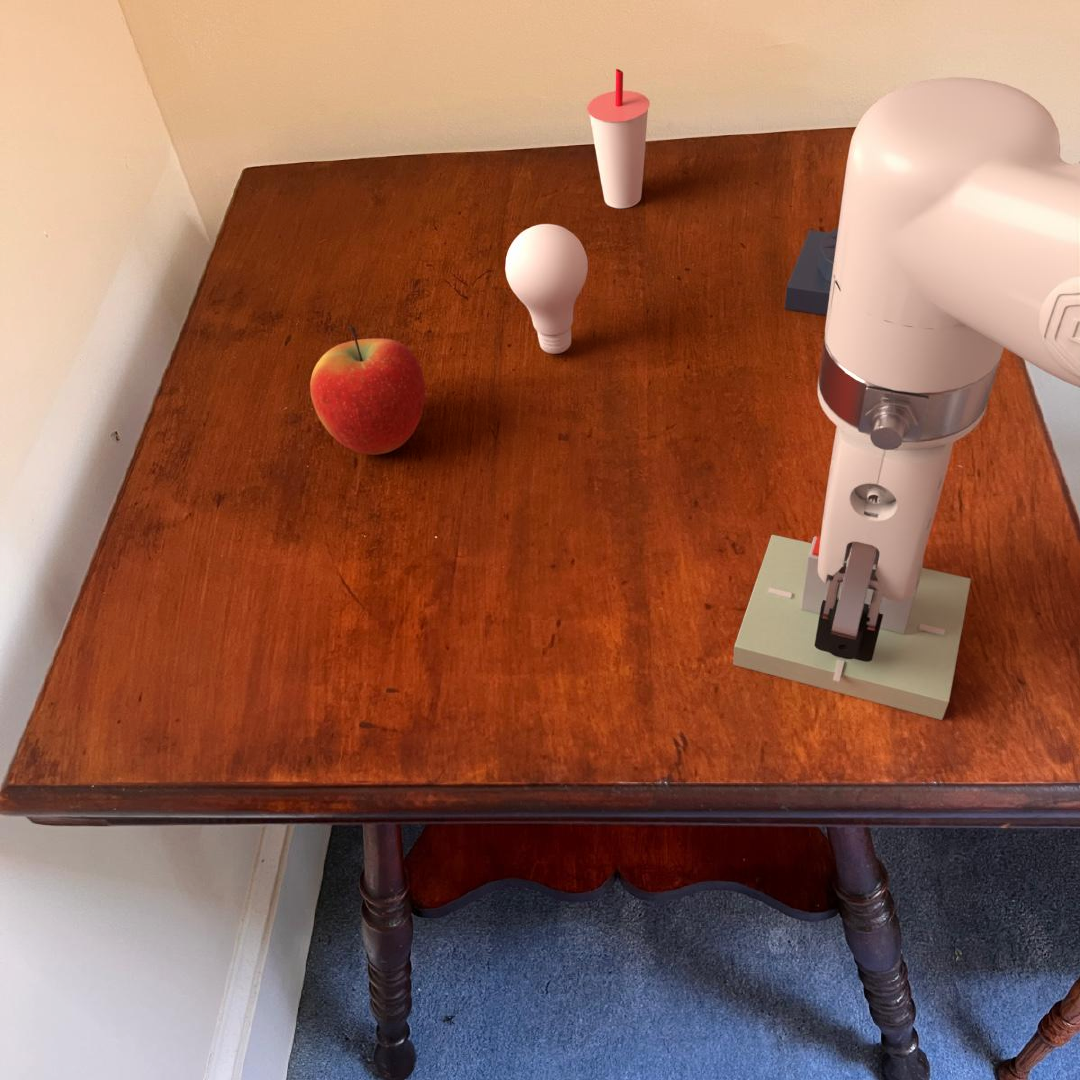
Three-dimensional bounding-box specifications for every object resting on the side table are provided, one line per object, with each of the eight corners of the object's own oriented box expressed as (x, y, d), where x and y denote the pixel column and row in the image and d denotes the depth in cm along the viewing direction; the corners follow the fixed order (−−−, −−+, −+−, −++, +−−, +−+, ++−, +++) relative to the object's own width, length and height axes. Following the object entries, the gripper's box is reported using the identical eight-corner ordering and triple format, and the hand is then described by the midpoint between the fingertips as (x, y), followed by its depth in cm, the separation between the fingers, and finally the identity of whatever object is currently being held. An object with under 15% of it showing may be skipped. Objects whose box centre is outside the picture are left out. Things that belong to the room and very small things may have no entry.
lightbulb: (551, 387, 80) (535, 266, 71) (503, 351, 83) (483, 232, 75) (610, 350, 82) (602, 229, 74) (561, 316, 85) (548, 197, 77)
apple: (327, 484, 75) (287, 380, 68) (333, 410, 81) (297, 305, 73) (436, 470, 75) (409, 364, 68) (435, 396, 80) (410, 290, 73)
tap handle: (908, 613, 60) (924, 556, 57) (904, 634, 60) (920, 578, 56) (806, 588, 62) (814, 532, 58) (800, 609, 61) (808, 553, 58)
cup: (652, 181, 97) (649, 53, 88) (651, 213, 94) (647, 84, 85) (595, 183, 98) (587, 57, 89) (591, 215, 94) (582, 87, 85)
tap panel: (965, 591, 64) (973, 569, 62) (940, 729, 58) (948, 709, 56) (772, 547, 67) (774, 525, 66) (730, 673, 62) (731, 652, 60)
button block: (929, 268, 84) (939, 225, 81) (913, 329, 80) (922, 286, 77) (806, 252, 87) (811, 210, 84) (784, 309, 83) (788, 267, 80)
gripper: (966, 525, 41) (895, 748, 54) (1014, 270, 51) (944, 513, 64) (777, 485, 43) (754, 709, 57) (858, 250, 53) (822, 488, 67)
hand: (855, 603), depth 60 cm, fingers open, 6 cm apart
